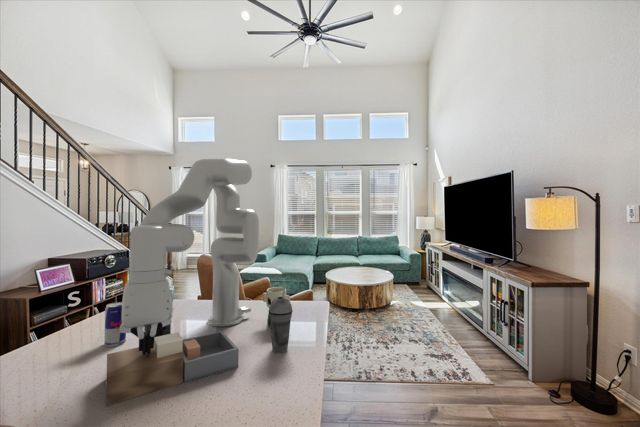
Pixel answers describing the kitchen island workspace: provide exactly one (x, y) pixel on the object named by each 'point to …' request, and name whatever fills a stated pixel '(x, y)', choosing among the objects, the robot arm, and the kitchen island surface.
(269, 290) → the character mug
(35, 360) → the kitchen island surface
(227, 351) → the bin
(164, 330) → the supplement bottle
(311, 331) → the kitchen island surface
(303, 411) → the kitchen island surface
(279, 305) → the beverage cup
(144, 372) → the brown cardboard box
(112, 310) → the energy drink
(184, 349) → the tile
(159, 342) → the tile
